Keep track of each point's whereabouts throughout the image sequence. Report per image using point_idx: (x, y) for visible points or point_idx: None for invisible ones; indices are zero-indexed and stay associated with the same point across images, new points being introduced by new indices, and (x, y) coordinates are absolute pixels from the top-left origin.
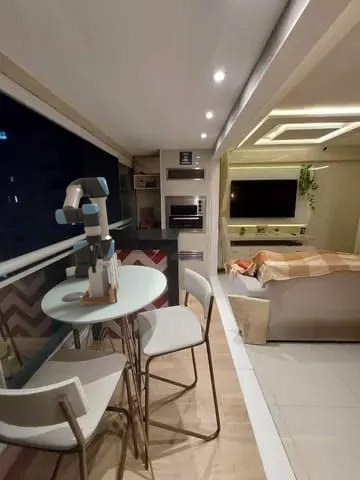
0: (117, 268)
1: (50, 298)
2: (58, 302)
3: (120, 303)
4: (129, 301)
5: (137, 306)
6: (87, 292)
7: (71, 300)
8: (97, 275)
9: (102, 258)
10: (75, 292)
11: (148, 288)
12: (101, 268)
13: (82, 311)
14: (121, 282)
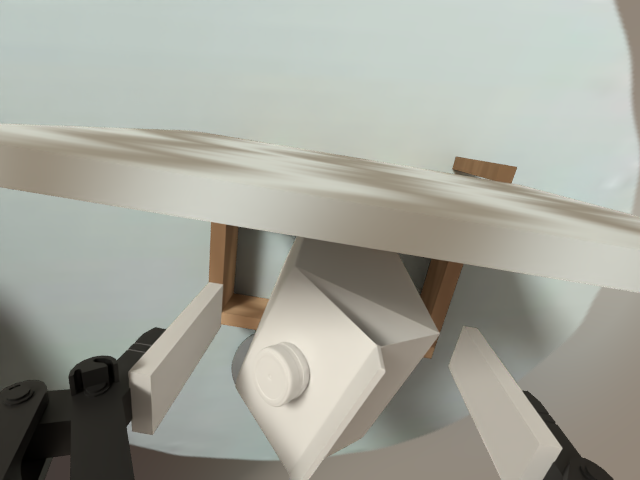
0: (184, 136)
1: (260, 451)
2: None
3: (500, 137)
4: (501, 76)
5: (618, 23)
6: None
7: None
8: (492, 350)
9: (118, 377)
10: (233, 372)
11: None
12: (417, 342)
13: (489, 324)
14: (114, 120)
